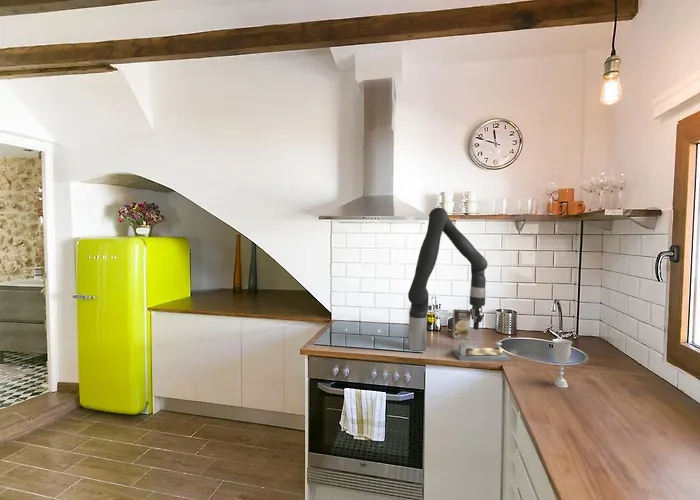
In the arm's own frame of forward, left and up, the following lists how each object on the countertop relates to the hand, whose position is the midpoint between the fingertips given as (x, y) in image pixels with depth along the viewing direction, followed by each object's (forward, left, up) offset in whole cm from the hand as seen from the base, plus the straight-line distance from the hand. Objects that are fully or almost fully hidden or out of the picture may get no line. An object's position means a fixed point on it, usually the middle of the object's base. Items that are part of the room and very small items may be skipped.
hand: (475, 329), depth 198 cm
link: (+2, -8, -10) cm, 13 cm away
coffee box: (+2, +29, -13) cm, 32 cm away
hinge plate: (+1, -5, -12) cm, 13 cm away
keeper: (-7, -8, -12) cm, 16 cm away
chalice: (+21, -42, -13) cm, 48 cm away
